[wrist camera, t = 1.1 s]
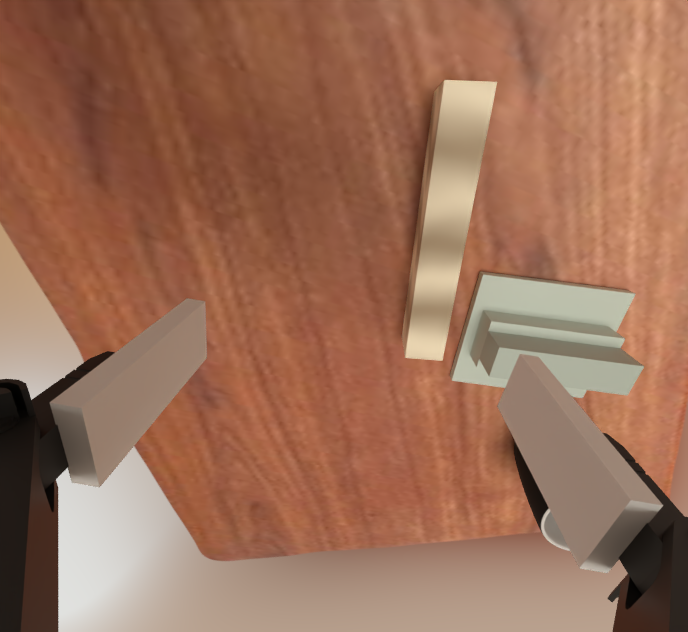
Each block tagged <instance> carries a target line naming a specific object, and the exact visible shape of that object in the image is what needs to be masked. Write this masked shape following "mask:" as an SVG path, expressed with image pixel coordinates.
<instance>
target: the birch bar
mask: <svg viewBox="0 0 688 632" xmlns="http://www.w3.org/2000/svg"><path fill="white" fill-rule="evenodd" d="M496 85H497V82H485V81H459V80H444V81H443V82H442V83H441V84H440V85H439V86H438V87H437V89H436V90H435V91H434V97H433V104H432V112H431V119H430V127H429V134H428V142H427V149H426V157H425V164H424V172H423V179H422V187H421V195H420V202H419V210H418V217H417V225H416V232H415V240H414V247H413V255H412V262H411V270H410V277H409V285H408V293H407V300H406V308H405V315H404V323H403V330H402V342H403V348H404V354H405V358H414V359H427V360H439V361H442V360H443V355H444V350H445V345H446V340H447V335H448V330H449V325H450V319H451V314H452V309H453V304H454V299H455V294H456V289H457V284H458V279H459V274H460V269H461V263H462V258H463V253H464V248H465V243H466V238H467V233H468V228H469V223H470V218H471V213H472V207H473V202H474V197H475V192H476V187H477V182H478V177H479V172H480V167H481V162H482V157H483V151H484V146H485V141H486V136H487V131H488V126H489V121H490V116H491V111H492V106H493V101H494V95H495V90H496Z"/></svg>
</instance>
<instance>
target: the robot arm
mask: <svg viewBox="0 0 688 632" xmlns="http://www.w3.org/2000/svg"><path fill="white" fill-rule="evenodd" d="M206 358H207V345H206V310H205V301H200V300H194V299H188V298H187V299H185V300H184V301H183V302H182V303H180V304H179V305H178V306H176V307H175V308H174V309H172V310H171V311H170V312H168V313H167V314H166V315H164V316H163V317H162V318H160V319H159V320H158V321H156V322H155V323H154V324H153V325H151V326H150V327H149V328H147V329H146V330H145V331H143V332H142V333H141V334H139V335H138V336H137V337H135V338H134V339H133V340H131V341H130V342H129V343H127V344H126V345H125V346H123V347H122V348H121V349H120V350H118V351H117V352H116V353H115V352H109V351H107V352H105V353H102V354H100V355H97V356H95V357H92V358H90V359H89V360H87V361H86V362H84V363H83V364H82V365H80V366H79V367H77V369H76V370H73V371H72V372H70V373H69V374H67V375H66V376H65V378H62V379H60V380H59V381H58V382H56V383H55V384H53V385H52V386H51V387H49V388H48V389H46V390H45V391H44V392H42V393H41V394H39V395H38V396H37V397H35V398H34V399H32V400H31V398H30V394H29V391H28V388H27V386H26V383H23V382H22V381H19V380H13V379H2V380H0V632H58V486H57V483H56V478H58V476H59V475H60V474H61V473H62V472H63V471H64V470H65V469H66V468H67V467H68V470H69V473H70V478H71V481H72V483H78V484H84V485H90V486H95V487H100V486H101V485H102V484H103V483H104V481H105V480H106V479H107V478H108V477H109V475H110V474H111V473H112V472H113V471H114V469H115V468H116V467H117V466H118V465H119V463H120V462H121V461H122V460H123V458H124V457H125V456H126V455H127V453H128V452H129V451H130V450H131V449H132V448H133V446H134V445H135V444H136V443H137V442H138V440H139V439H140V438H141V437H142V435H143V434H144V433H145V432H146V431H147V429H148V428H149V427H150V426H151V425H152V423H153V422H154V421H155V420H156V419H157V417H158V416H159V415H160V414H161V413H162V411H163V410H164V409H165V408H166V406H167V405H168V404H169V403H170V402H171V400H172V399H173V398H174V397H175V396H176V394H177V393H178V392H179V391H180V390H181V388H182V387H183V386H184V385H185V384H186V382H187V381H188V380H189V379H190V377H191V376H192V375H193V374H194V373H195V371H196V370H197V369H198V368H199V367H200V365H201V364H202V363H203V362H204V361H205V359H206ZM497 407H498V409H499V410H500V412H501V414H502V416H503V418H504V420H505V422H506V424H507V426H508V428H509V430H510V432H511V434H512V436H513V438H514V440H515V442H516V444H517V446H518V448H519V450H520V452H521V454H522V456H523V458H524V460H525V462H526V464H527V466H528V468H529V470H530V472H531V474H532V476H533V478H534V480H535V482H536V484H537V486H538V487H539V489H540V491H541V493H542V495H543V497H544V499H545V501H546V503H547V505H548V507H549V509H550V511H551V513H552V515H553V517H554V519H555V521H556V523H557V525H558V527H559V529H560V531H561V533H562V535H563V537H564V539H565V541H566V543H567V545H568V547H569V549H570V551H571V553H572V555H573V556H574V559H575V560H576V562H577V564H578V566H579V568H581V569H587V570H593V571H598V572H604V573H608V572H609V571H610V569H611V568H612V567H613V566H614V565H615V563H616V562H617V561H618V560H619V559H620V561H621V563H622V564H623V566H624V568H625V569H626V571H627V572H628V574H627V576H626V577H625V578H624V579H623V580H622V581H621V582H620V584H619V585H618V586H617V587H616V588H615V589H614V590H613V592H612V593H611V594H610V595H609V597H608V599H609V600H610V601H611V602H613V601H614V600H615V599H616V598H617V597H619V600H618V604H617V610H616V616H615V621H614V627H613V632H688V517H684V516H683V514H682V513H681V512H680V511H679V510H678V509H677V508H676V506H675V505H674V504H673V503H672V502H671V501H670V499H669V498H668V497H667V496H666V495H665V494H664V493H663V491H662V490H661V489H660V488H659V487H658V486H657V485H656V483H655V482H654V481H653V480H652V479H651V478H650V477H649V475H646V474H645V471H644V470H643V469H642V467H641V466H640V465H639V464H638V463H635V459H634V458H633V457H632V456H631V455H630V454H629V452H628V451H627V450H626V449H625V448H624V447H623V446H622V445H621V444H619V443H618V442H617V441H616V440H614V439H613V438H612V437H610V436H609V435H608V434H606V433H602V432H601V431H600V430H599V428H598V427H597V426H596V425H595V424H594V422H593V421H592V420H591V419H590V418H589V416H588V415H587V414H586V413H585V412H584V411H583V409H582V408H581V407H580V406H579V405H578V403H577V402H576V401H575V400H574V399H573V397H572V396H571V395H570V394H569V393H568V391H567V390H566V389H565V388H564V387H563V386H562V384H561V383H560V382H559V381H558V380H557V378H556V377H555V376H554V375H553V374H552V372H551V371H550V370H549V369H548V368H547V366H546V365H545V364H544V363H543V362H542V360H541V359H540V358H539V357H537V356H531V355H525V354H520V355H519V357H518V359H517V362H516V364H515V366H514V369H513V371H512V373H511V376H510V378H509V380H508V383H507V385H506V387H505V390H504V392H503V394H502V396H501V399H500V401H499V403H498V406H497Z"/></svg>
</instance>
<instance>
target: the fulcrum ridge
mask: <svg viewBox="0 0 688 632" xmlns="http://www.w3.org/2000/svg"><path fill="white" fill-rule="evenodd" d="M634 296H635V293H633V292H631V291H629V290H623V289H615V288H607V287H599V286H592V285H584V284H576V283H568V282H560V281H552V280H544V279H537V278H529V277H521V276H513V275H505V274H497V273H489V272H482V271H480V273H479V277H478V280H477V284H476V287H475V290H474V294H473V297H472V301H471V304H470V308H469V311H468V315H467V318H466V321H465V325H464V328H463V332H462V335H461V339H460V342H459V345H458V349H457V352H456V356H455V359H454V363H453V366H452V370H451V373H450V377H451V380H452V381H459V382H466V383H474V384H481V385H488V386H496V387H503V388H505V387H506V385H507V383H508V380H509V378H510V376H511V373H512V371H513V369H514V366H515V364H516V362H517V359H518V357H519V355H520V354H525V355H531V356H537V357H539V358H540V359H541V360H542V362H543V363H544V364H545V365H546V366H547V368H548V369H549V370H550V371H551V372H552V374H553V375H554V376H555V377H556V378H557V380H558V381H559V382H560V383H561V384H562V386H563V387H564V388H565V389H566V390H567V391H568V393H569V394H570V395H571V396H572V397H578V398H583V396H584V394H585V393H586V391H587V390H590V391H598V392H605V393H613V394H620V395H628V394H629V392H630V390H631V389H632V387H633V385H634V383H635V382H636V380H637V378H638V376H639V375H640V373H641V371H642V369H643V368H644V366H643V365H642V364H640V363H639V362H638V361H636V360H635V359H634V358H632V357H631V356H630V355H628V354H627V353H626V352H625V351H623V350H622V349H621V346H622V344H623V342H624V340H625V338H624V337H622V336H621V335H619V334H618V333H617V332H616V331H617V329H618V327H619V325H620V324H621V322H622V320H623V318H624V316H625V314H626V312H627V310H628V308H629V306H630V304H631V302H632V300H633V298H634Z"/></svg>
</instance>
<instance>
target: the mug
mask: <svg viewBox="0 0 688 632" xmlns="http://www.w3.org/2000/svg"><path fill="white" fill-rule="evenodd" d="M514 454H515V460H516V464H517V468H518V472H519V475H520V479H521V482H522V485H523V488H524V491H525V494H526V496H527V499H528V502H529V504H530V507H531V509H532V512H533V514H534V517H535V519H536V521H537V524H538V526H539V528H540V530H541V532H542V534H543V535H544V537H545V538H546V539H547V540H548V541H549V542H550V543H552V544H553V545H555V546H557V547H559V548H562V549H564V550H568V551H570V549H569V547H568V545H567V543H566V541H565V539H564V537H563V535H562V533H561V531H560V529H559V527H558V525H557V523H556V521H555V519H554V517H553V515H552V513H551V511H550V509H549V507H548V505H547V503H546V501H545V499H544V497H543V495H542V493H541V491H540V489H539V487H538V486H537V484H536V482H535V480H534V478H533V476H532V474H531V472H530V470H529V468H528V466H527V464H526V462H525V460H524V458H523V456H522V454H521V452H520V450H519V448H518V446H517V444H516V442H515V445H514Z"/></svg>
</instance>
